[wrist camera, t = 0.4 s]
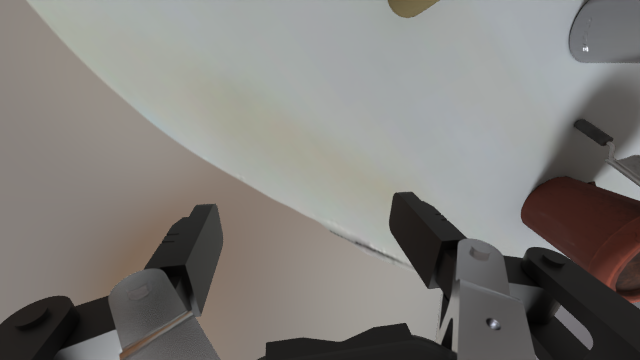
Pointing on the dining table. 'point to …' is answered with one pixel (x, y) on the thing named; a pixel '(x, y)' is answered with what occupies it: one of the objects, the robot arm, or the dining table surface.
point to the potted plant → (592, 221)
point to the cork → (410, 6)
